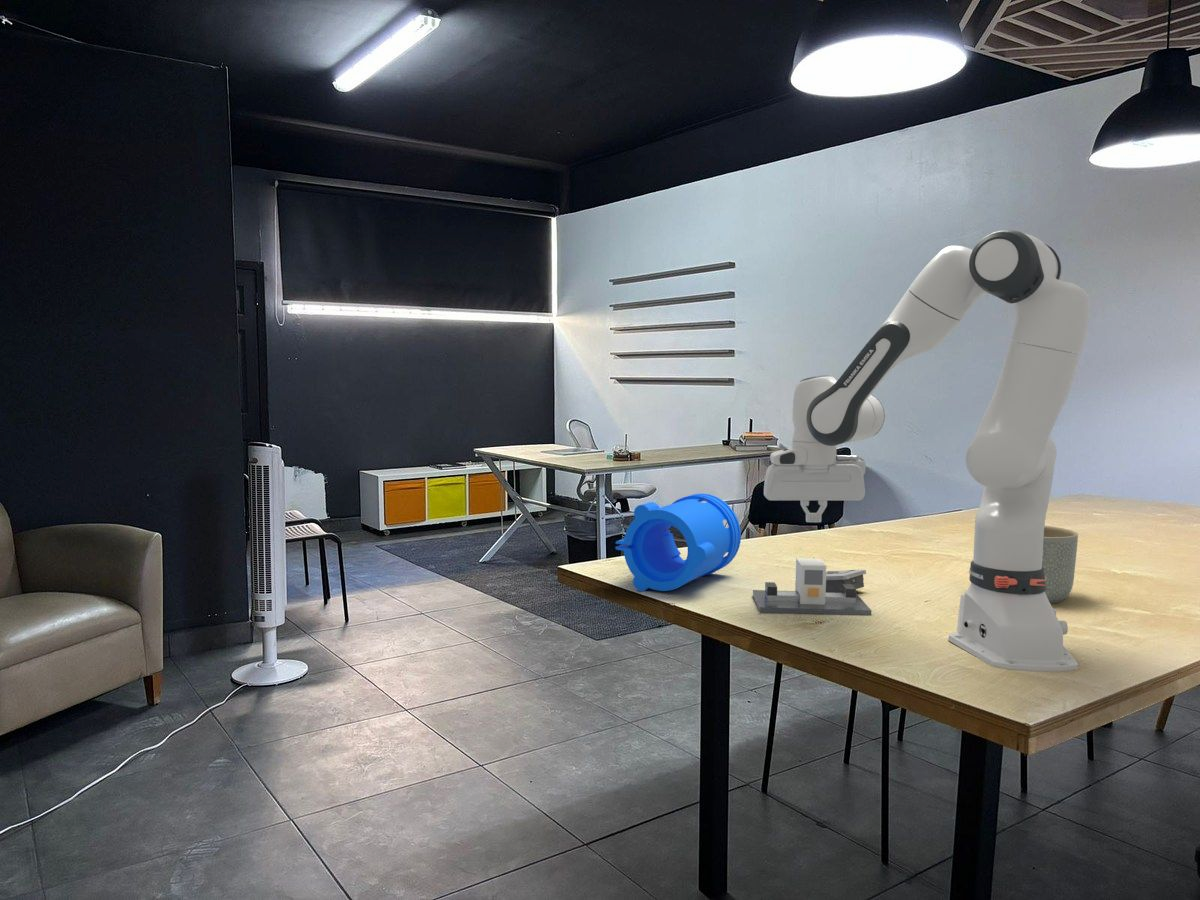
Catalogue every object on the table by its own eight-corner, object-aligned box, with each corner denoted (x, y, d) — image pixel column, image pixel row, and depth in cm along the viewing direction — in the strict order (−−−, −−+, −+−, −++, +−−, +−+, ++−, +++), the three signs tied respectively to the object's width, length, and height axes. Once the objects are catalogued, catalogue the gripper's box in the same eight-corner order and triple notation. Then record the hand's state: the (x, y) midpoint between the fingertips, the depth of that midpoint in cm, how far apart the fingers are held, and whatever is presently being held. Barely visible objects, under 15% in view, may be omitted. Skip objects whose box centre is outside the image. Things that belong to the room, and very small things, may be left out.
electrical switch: (868, 569, 190) (844, 567, 184) (869, 593, 189) (845, 591, 183) (831, 571, 197) (807, 569, 191) (832, 593, 196) (808, 592, 190)
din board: (871, 617, 171) (872, 595, 171) (759, 614, 173) (760, 592, 173) (855, 599, 185) (856, 579, 185) (752, 596, 187) (753, 576, 186)
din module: (825, 605, 175) (827, 566, 174) (801, 604, 175) (802, 566, 174) (818, 595, 182) (820, 558, 182) (795, 595, 183) (796, 558, 182)
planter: (1025, 612, 176) (1029, 538, 175) (970, 592, 192) (973, 524, 191) (1092, 607, 181) (1097, 535, 179) (1032, 588, 197) (1036, 522, 196)
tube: (662, 566, 216) (663, 490, 214) (744, 577, 205) (746, 496, 204) (615, 587, 194) (615, 502, 193) (704, 600, 184) (706, 511, 182)
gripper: (862, 453, 179) (861, 519, 180) (762, 454, 180) (762, 519, 181) (869, 456, 172) (868, 524, 173) (766, 456, 174) (766, 524, 175)
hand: (813, 521), depth 177 cm, fingers closed
